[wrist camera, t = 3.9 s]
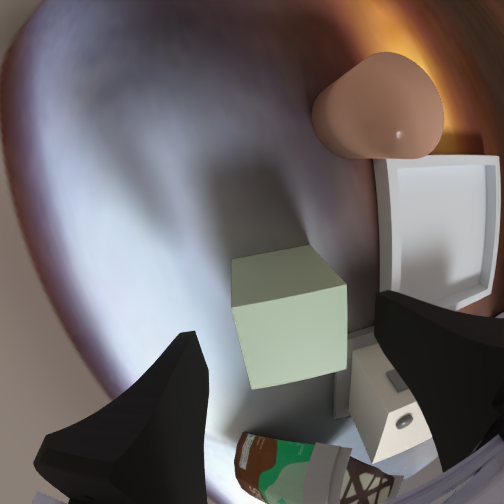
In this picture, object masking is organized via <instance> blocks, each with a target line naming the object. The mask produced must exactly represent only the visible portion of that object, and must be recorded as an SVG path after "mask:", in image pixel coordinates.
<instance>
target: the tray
mask: <svg viewBox="0 0 504 504" xmlns="http://www.w3.org/2000/svg"><path fill="white" fill-rule="evenodd" d="M373 164H374V173H375V182H376V192H377V204H378V220H379V243H380V292H383V291H386V290H391V291H395V292H399V293H402V294H405V295H407V296H410V297H413V298H416V299H419V300H421V301H424V302H427V303H430V304H433V305H436V306H439V307H443V308H446V309H449V310H453V311H455V310H458V309H460V308H462V307H464V306H467V305H469V304H471V303H473V302H475V301H477V300H479V299H481V298H484V297H486V296H488V295H490V294H491V290H492V285H493V279H494V273H495V267H496V259H497V251H498V242H499V229H500V207H501V186H500V164H499V156H492V155H470V154H435V155H426V156H424V157H422V158H419V159H373Z"/></svg>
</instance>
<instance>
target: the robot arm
mask: <svg viewBox="0 0 504 504" xmlns="http://www.w3.org/2000/svg"><path fill="white" fill-rule="evenodd" d="M374 336H375V338H376V340H377V342H378V344H379V346H380V348H381V349H382V351H383V353H384V355H385V356H386V357H387V359H388V360H389V362H390V363H391V364H392V366H393V367H394V368H395V370H396V371H397V373H398V374H399V375H400V377H401V378H402V380H403V381H404V382H405V384H406V385H407V387H408V388H409V389H410V391H411V393H412V394H413V396H414V398H415V400H416V402H417V404H418V406H419V407H420V409H421V411H422V414H423V416H424V418H425V420H426V423H427V425H428V427H429V429H430V432H431V435H432V437H433V440H434V443H435V446H436V449H437V452H438V455H439V459H440V462H441V466H442V471H443V473H442V474H441V475H439V476H437V477H436V478H434V479H432V480H430V481H428V482H426V483H424V484H422V485H420V486H418V487H416V488H414V489H412V490H410V491H408V492H406V493H404V494H402V495H400V496H397V497H395V498H393V499H390V500H388V501H386V502H383V503H381V504H429V503H431V502H433V501H435V500H436V499H438V498H440V497H441V496H443V495H445V494H446V493H448V492H450V491H451V490H453V489H454V488H456V487H457V486H459V485H461V484H462V483H464V482H465V481H466V480H468V479H469V478H470V477H472V476H473V477H472V478H471V479H470V480H469V481H467V482H466V483H465V484H464V485H462V486H461V487H459V488H458V489H457V490H456V491H455V492H454V493H453V494H452V495H451V496H450V497H449V498H448V499H447V500H446V501H444V502H443V503H442V504H504V312H503V313H501V314H500V315H498V316H496V317H495V318H493V317H483V316H476V315H471V314H466V313H461V312H457V311H453V310H449V309H446V308H443V307H439V306H436V305H433V304H430V303H427V302H424V301H421V300H419V299H416V298H413V297H410V296H407V295H405V294H402V293H399V292H395V291H391V290H386V291H383V292H379V293H376V302H375V323H374ZM208 398H209V370H208V367H207V364H206V362H205V359H204V356H203V353H202V350H201V347H200V344H199V341H198V338H197V335H196V332H195V331H190V332H182V333H179V334H178V335H177V337H176V338H175V339H174V340H173V341H172V342H171V344H170V345H169V346H168V347H167V348H166V350H165V351H164V352H163V353H162V354H161V356H160V357H159V358H158V359H157V360H156V361H155V362H154V364H153V365H152V366H151V367H150V368H149V369H148V370H147V371H146V372H145V373H144V374H143V375H142V376H141V377H140V378H139V379H138V380H137V381H136V382H135V383H134V384H133V385H132V386H131V387H130V388H128V389H127V390H126V391H125V392H124V393H122V394H121V395H120V396H119V397H117V398H116V399H115V400H113V401H112V402H110V403H109V404H108V405H106V406H105V407H103V408H102V409H100V410H99V411H97V412H96V413H94V414H92V415H90V416H89V417H87V418H85V419H83V420H81V421H79V422H77V423H75V424H73V425H71V426H69V427H66V428H64V429H61V430H59V431H56V432H54V433H51V434H48V435H46V436H45V438H44V440H43V442H42V445H41V447H40V449H39V451H38V453H37V456H36V458H35V460H34V462H33V464H34V467H35V469H36V471H37V472H38V473H39V474H40V475H41V476H42V477H43V478H44V479H45V480H46V481H48V482H49V483H50V484H51V485H53V486H54V487H55V488H57V489H58V490H59V491H60V492H62V493H63V494H64V495H66V496H67V497H69V498H70V500H69V503H68V504H207V494H206V484H205V469H204V434H205V425H206V416H207V407H208ZM32 504H66V503H64V502H62V501H60V500H58V499H55V498H53V497H50V496H48V495H46V494H43V493H41V492H39V491H37V492H36V493H35V496H34V499H33V501H32Z"/></svg>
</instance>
